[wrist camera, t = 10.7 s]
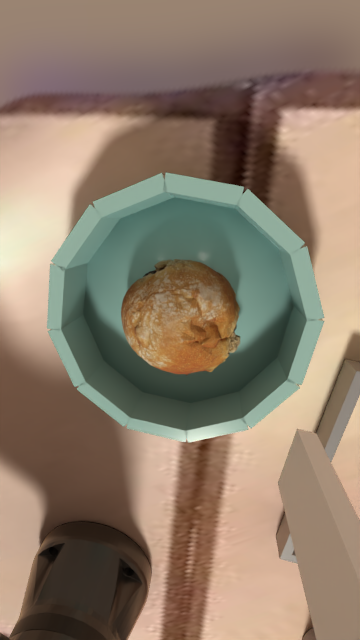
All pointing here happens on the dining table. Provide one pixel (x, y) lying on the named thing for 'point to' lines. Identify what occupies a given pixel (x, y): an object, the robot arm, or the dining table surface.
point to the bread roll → (181, 317)
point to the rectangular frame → (328, 435)
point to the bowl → (197, 245)
